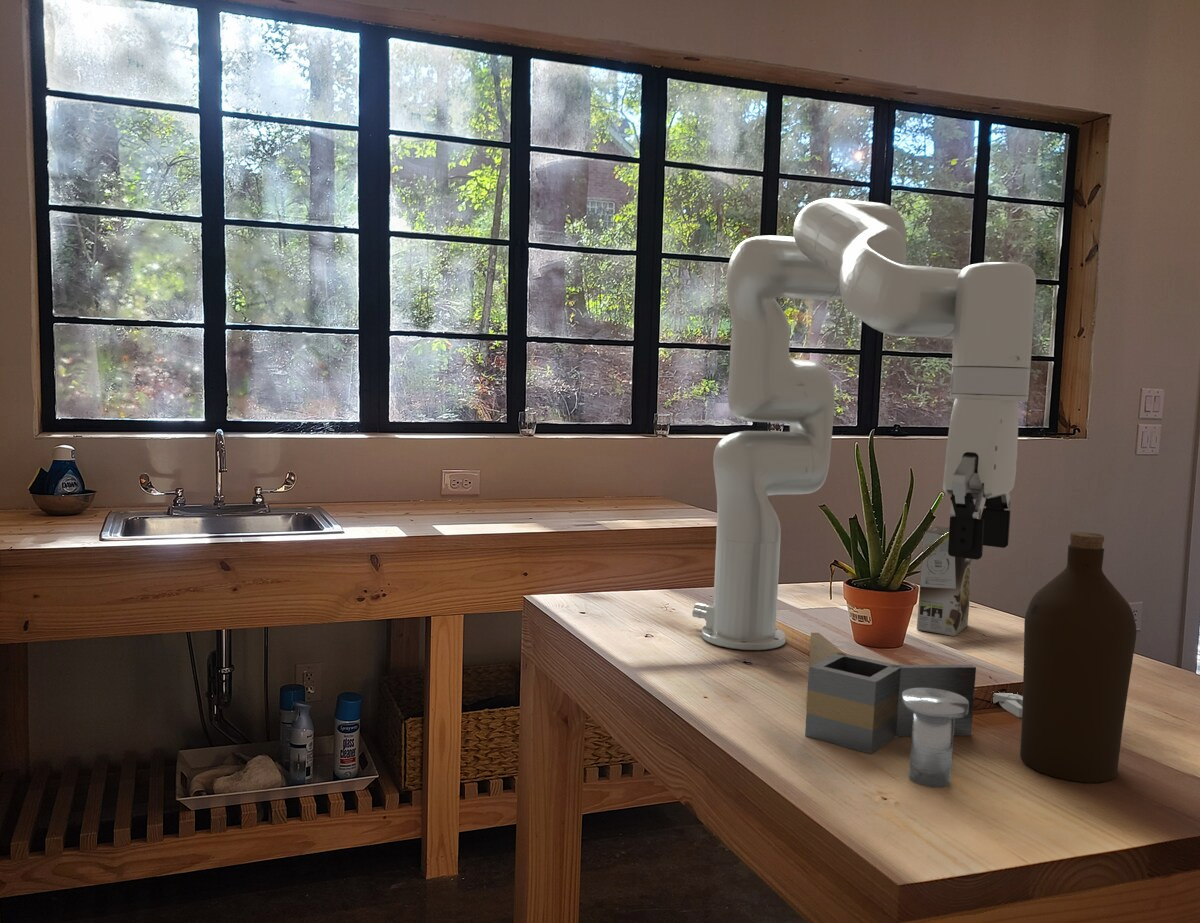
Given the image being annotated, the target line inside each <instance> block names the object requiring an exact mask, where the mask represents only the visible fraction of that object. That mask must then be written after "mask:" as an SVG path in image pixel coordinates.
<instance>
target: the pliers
mask: <svg viewBox="0 0 1200 923" xmlns="http://www.w3.org/2000/svg"><path fill="white" fill-rule="evenodd" d="M993 696H994V697H993V703H992V704H996V703H998V705H1000V707H1002V709H1004V710H1006V711H1007V712H1008V713H1010V714H1012V715H1013V716H1015V717H1017V718H1021V719H1022V707H1023V695H1020V694H1018V693H1017V694H1013V693H1005V692H999V693H994V694H993Z"/></svg>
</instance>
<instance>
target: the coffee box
mask: <svg viewBox="0 0 1200 923" xmlns="http://www.w3.org/2000/svg"><path fill="white" fill-rule="evenodd" d="M924 532H925V534H924V533H923V543H922V552H924V551H925V550H926V549H927V548H928V547H930V546H931V545H932V544H933V543H934V542H935V541H936V540H937V539H939V538H940V537H941V536H942V535H944V534H945V533H947V532H949V527H946V526H945V527H944V526H935V527H933V528H930V529H928V530H926V531H924ZM948 543H949V537H948V538H947V539H946V540H945V541H944V542H942V543H941V544H940V545H939V546H938V547H937V548H935V550H934V551H933V552H932V553H931V554H930V555H929V556H928V557H926V558H925V559H924V560H923V562H922V561H921V567H920V577H919V578H920V579H919V594H918V595H919V596H918V607H917V608H918V610H917V622H916V630H918V631H923V632H928V633H935V634H941V635H946V636H950V637H956V636H957V635H958V634H959V633H960V632H961V631H963V630H964V629H965V628H966V627H968V624H969V613H970V612H969V611H970V600H971V586H972V585H971V584H972V569H973V559H968V558H961V557H953V556H950V555H949V554H948Z"/></svg>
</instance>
